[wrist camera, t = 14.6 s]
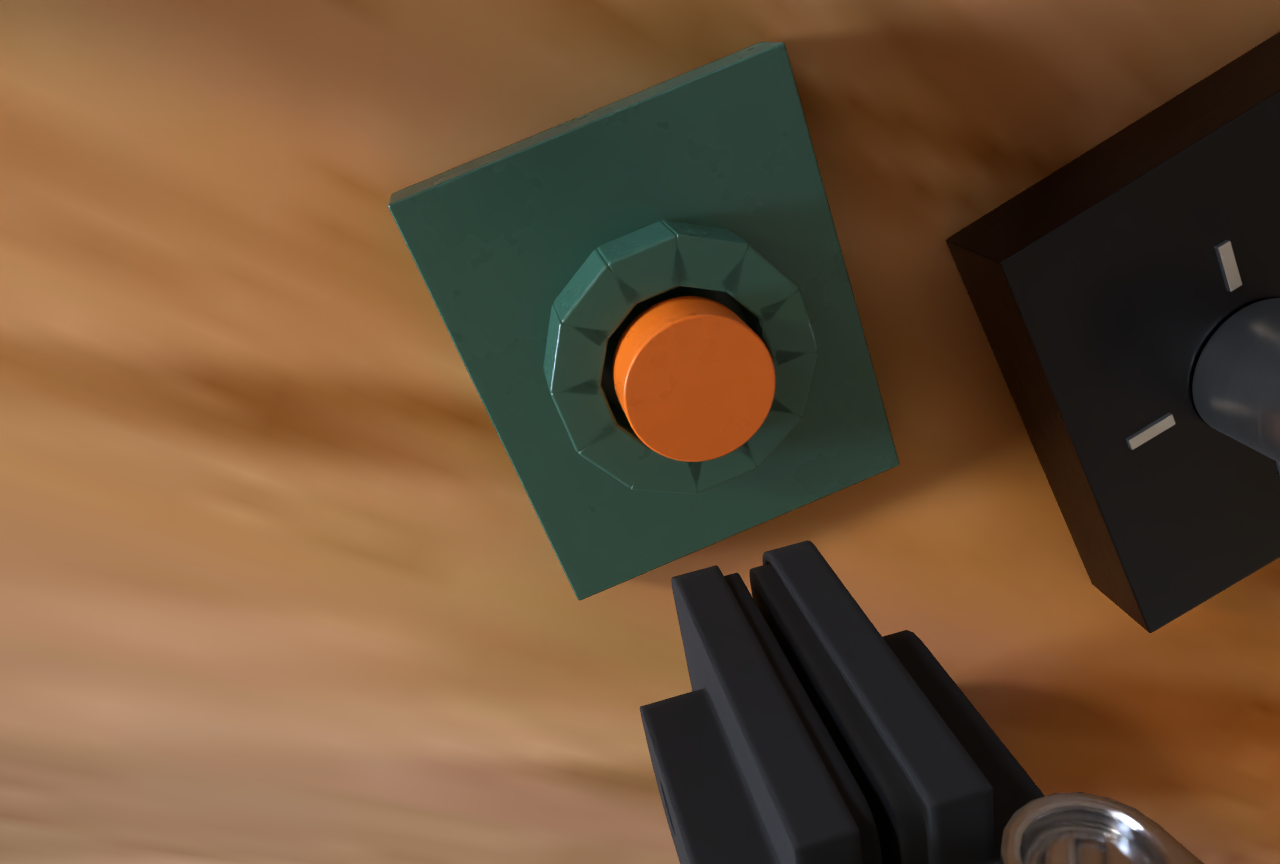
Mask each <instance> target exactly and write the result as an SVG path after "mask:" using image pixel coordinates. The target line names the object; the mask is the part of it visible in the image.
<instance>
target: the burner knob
mask: <svg viewBox="0 0 1280 864" xmlns="http://www.w3.org/2000/svg"><path fill="white" fill-rule="evenodd" d="M1192 393H1193V400H1194V404H1195V406H1196V409H1197V411H1198V413H1199V415H1200V416H1201V418H1202V419H1203V420H1204V421H1205V422H1206V423H1207V424H1208V425H1209V426H1210V427H1212V428H1214V429H1216V430H1218V431H1219V432H1221V433H1223V434H1225V435H1227V436H1229V437H1231V438H1233V439H1235V440H1237V441H1239V442H1241V443H1243V444H1244V445H1246V446H1248V447H1250V448H1252V449H1254V450H1256V451H1258V452H1260V453H1262V454H1264V455H1266V456H1268V457H1269V458H1271V459H1273V460H1275V461H1277V462H1279V463H1280V298H1271V299H1266V300H1262V301H1259V302H1256V303H1253V304H1251V305H1249V306H1247V307H1244V308H1243V309H1241V310H1240V311H1238V312H1236V313H1235V314H1234V315H1232V316H1231V317H1230V318H1228V319H1227V320H1226V321H1225V322H1224V323H1223V324H1222V325H1221V326H1220V327H1219V328H1218V329H1217V330H1216V331H1215V332H1214V334H1213V335H1212V336H1211V338H1210V339H1209V340H1208V342H1207V343H1206V345H1205V347H1204V349H1203V350H1202V352H1201V354H1200V357H1199V359H1198V361H1197V364H1196V367H1195V371H1194V376H1193V384H1192Z"/></svg>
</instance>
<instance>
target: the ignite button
mask: <svg viewBox="0 0 1280 864" xmlns="http://www.w3.org/2000/svg"><path fill="white" fill-rule="evenodd" d="M612 380H613V385H614V389H615V392H616V395H617V398H618V400H619V402H620V404H621V406H622V408H623V410H624V413H625V415H626V417H627V419H628V421H629V423H630V425H631V427H632V429H633V431H634V432H635V433H636V435H637V436H638V437H639V439H640V440H641V441H642V442H643V443H644V444H645V445H647V446H648V447H649V448H650V449H652V450H653V451H655V452H657V453H658V454H660V455H663V456H665V457H667V458H671V459H674V460H679V461H686V462H699V461H707V460H712V459H716V458H719V457H721V456H724V455H726V454H728V453H730V452H733V451H734V450H736V449H737V448H739V447H741V446H742V445H743V444H744V443H746V442H747V441H748V440H749V439H750V438H751V437H752V436H753V435H754V434H755V433H756V432H757V431H758V429H759V428H760V427H761V426H762V424H763V422H764V421H765V419H766V417H767V415H768V413H769V411H770V409H771V406H772V403H773V399H774V394H775V388H776V375H775V368H774V364H773V360H772V357H771V355H770V352H769V350H768V349H767V347H766V345H765V344H764V342H763V341H762V340H761V338H760V337H759V336H758V335H757V334H756V333H755V332H754V331H753V330H752V329H751V328H750V327H749V326H748V325H747V324H746V323H745V322H744V321H743V320H742V319H741V318H740V317H739V316H738V315H736V314H735V313H734V312H733V311H732V310H731V309H729V308H728V307H727V306H725V305H723V304H721V303H719V302H717V301H715V300H712V299H709V298H705V297H700V296H679V297H674V298H669V299H666V300H663V301H661V302H658V303H656V304H654V305H652V306H651V307H649V308H647V309H646V310H644V311H643V312H642V313H641V314H639V315H638V316H637V317H636V318H635V319H634V320H633V321H632V322H631V323H630V324H629V325H628V327H627V328H626V330H625V331H624V333H623V334H622V336H621V338H620V340H619V342H618V344H617V347H616V350H615V353H614V357H613V364H612Z"/></svg>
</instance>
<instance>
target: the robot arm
mask: <svg viewBox="0 0 1280 864" xmlns="http://www.w3.org/2000/svg"><path fill="white" fill-rule="evenodd" d="M750 583H751V589H752V596H753V598H752V596H751V594H750V592H749V591H748V589H747V587H746V585H745V583H744V582H743V580H742V578H741V577H740V575H739V574H738V573H734V574H730V575H727V576H723V574H722V572H721V571H720V569H719V567H718V566H712V567H709V568H705V569H701V570H698V571H694V572H690V573H687V574H683V575H679V576H676V577H672V589H673V595H674V600H675V605H676V610H677V615H678V620H679V625H680V630H681V635H682V640H683V645H684V650H685V655H686V660H687V666H688V671H689V676H690V681H691V686H692V691H693V692H690V693H686V694H683V695H679V696H676V697H672V698H669V699H665V700H662V701H658V702H655V703H651V704H648V705H644V706H641V707H640V712H641V717H642V722H643V726H644V731H645V735H646V739H647V744H648V748H649V752H650V756H651V761H652V765H653V769H654V773H655V777H656V781H657V784H658V788H659V792H660V796H661V799H662V803H663V807H664V810H665V814H666V817H667V821H668V824H669V828H670V831H671V835H672V838H673V841H674V844H675V848H676V851H677V854H678V858H679V861H680V864H1204V863H1202V862H1201V861H1200V860H1199V859H1198V858H1197V857H1196V856H1194V855H1193V854H1192V853H1191V852H1190V851H1189V850H1187V849H1186V848H1185V847H1184V846H1183V845H1182V844H1181V843H1179V842H1178V841H1177V840H1176V839H1175V838H1174V837H1172V836H1171V835H1170V834H1169V833H1168V832H1167V831H1166V830H1164V829H1163V828H1162V827H1161V826H1160V825H1159V824H1157V823H1156V822H1154V821H1153V820H1151V819H1150V818H1148V817H1147V816H1145V815H1144V814H1143V813H1141V812H1140V811H1138V810H1137V809H1135V808H1133V807H1130V806H1128V805H1126V804H1123V803H1121V802H1118V801H1116V800H1113V799H1111V798H1108V797H1103V796H1098V795H1093V794H1087V793H1082V792H1076V793H1054V794H1051V795H1047V796H1044V794H1043V793H1042V792H1041V790H1040V789H1039V788H1038V787H1037V785H1036V784H1035V783H1034V782H1033V780H1032V779H1031V778H1030V777H1029V775H1028V774H1027V773H1026V772H1025V770H1024V769H1023V768H1022V767H1021V765H1020V764H1019V763H1018V762H1017V760H1016V759H1015V758H1014V757H1013V755H1012V754H1011V753H1010V752H1009V750H1008V749H1007V748H1006V746H1005V745H1004V744H1003V743H1002V741H1001V740H1000V739H999V738H998V736H997V735H996V734H995V733H994V731H993V730H992V729H991V728H990V726H989V725H988V724H987V723H986V721H985V720H984V719H983V718H982V716H981V715H980V714H979V713H978V711H977V710H976V709H975V708H974V706H973V705H972V704H971V702H970V701H969V700H968V699H967V697H966V696H965V695H964V694H963V692H962V691H961V690H960V689H959V687H958V686H957V685H956V684H955V682H954V681H953V680H952V679H951V677H950V676H949V675H948V674H947V672H946V671H945V670H944V669H943V667H942V666H941V665H940V663H939V662H938V661H937V660H936V658H935V657H934V656H933V655H932V653H931V652H930V651H929V650H928V648H927V647H926V646H925V645H924V643H923V642H922V641H921V640H920V639H919V638H918V637H917V636H916V635H915V634H914V633H913V632H910V631H908V630H905V631H901V632H898V633H894V634H891V635H887V636H884V637H882V636H881V635H880V634H879V632H878V631H877V629H876V628H875V627H874V625H873V624H872V623H871V621H870V620H869V619H868V617H867V616H866V615H865V613H864V612H863V610H862V609H861V608H860V606H859V605H858V604H857V602H856V601H855V600H854V598H853V597H852V596H851V594H850V593H849V591H848V590H847V589H846V587H845V586H844V585H843V583H842V582H841V581H840V579H839V578H838V577H837V575H836V574H835V572H834V571H833V570H832V568H831V567H830V566H829V564H828V563H827V562H826V560H825V559H824V558H823V556H822V555H821V553H820V552H819V551H818V549H817V548H816V547H815V545H814V544H813V543H812V542H811V541H804V542H800V543H796V544H793V545H789V546H785V547H782V548H778V549H774V550H771V551H767V552H764V554H763V566H759V567H756V568H752V569H751V570H750Z"/></svg>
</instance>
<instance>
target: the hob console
mask: <svg viewBox="0 0 1280 864" xmlns="http://www.w3.org/2000/svg"><path fill="white" fill-rule="evenodd" d="M946 242H947V245H948V247H949V250H950V252H951V254H952V257H953V259H954V261H955V264H956V266H957V268H958V271H959V273H960V275H961V278H962V280H963V282H964V285H965V287H966V289H967V292H968V294H969V296H970V299H971V301H972V303H973V306H974V308H975V310H976V313H977V315H978V317H979V320H980V322H981V324H982V327H983V329H984V331H985V334H986V336H987V339H988V341H989V343H990V346H991V348H992V350H993V353H994V355H995V357H996V360H997V362H998V364H999V367H1000V369H1001V371H1002V374H1003V376H1004V378H1005V381H1006V383H1007V385H1008V388H1009V390H1010V392H1011V395H1012V397H1013V399H1014V402H1015V404H1016V406H1017V409H1018V411H1019V413H1020V416H1021V418H1022V420H1023V423H1024V425H1025V428H1026V430H1027V432H1028V435H1029V437H1030V439H1031V442H1032V444H1033V446H1034V449H1035V451H1036V453H1037V456H1038V458H1039V460H1040V463H1041V465H1042V467H1043V470H1044V472H1045V474H1046V477H1047V479H1048V481H1049V484H1050V486H1051V488H1052V491H1053V493H1054V495H1055V498H1056V500H1057V502H1058V505H1059V507H1060V510H1061V512H1062V514H1063V517H1064V519H1065V521H1066V524H1067V526H1068V528H1069V531H1070V533H1071V535H1072V538H1073V540H1074V542H1075V545H1076V547H1077V549H1078V552H1079V554H1080V556H1081V559H1082V561H1083V563H1084V566H1085V568H1086V570H1087V573H1088V575H1089V577H1090V580H1091V582H1092V584H1093V585H1094V586H1095V587H1096V588H1098V589H1099V590H1100V591H1101V592H1102V593H1103V594H1105V595H1106V596H1107V597H1108V598H1109V599H1110V600H1112V601H1113V602H1114V603H1115V604H1116V605H1117V606H1119V607H1120V608H1121V609H1122V610H1123V611H1124V612H1126V613H1127V614H1128V615H1129V616H1130V617H1131V618H1133V619H1134V620H1135V621H1136V622H1137V623H1138V624H1140V625H1141V626H1142V627H1143V628H1144V629H1145V630H1147V631H1148V632H1149V633H1152V632H1154V631H1156V630H1157V629H1159V628H1161V627H1162V626H1164V625H1166V624H1167V623H1169V622H1171V621H1172V620H1174V619H1176V618H1178V617H1179V616H1181V615H1183V614H1184V613H1186V612H1188V611H1189V610H1191V609H1193V608H1194V607H1196V606H1198V605H1200V604H1201V603H1203V602H1205V601H1206V600H1208V599H1210V598H1211V597H1213V596H1215V595H1217V594H1218V593H1220V592H1222V591H1223V590H1225V589H1227V588H1228V587H1230V586H1232V585H1233V584H1235V583H1237V582H1239V581H1240V580H1242V579H1244V578H1245V577H1247V576H1249V575H1250V574H1252V573H1254V572H1255V571H1257V570H1259V569H1261V568H1262V567H1264V566H1266V565H1267V564H1269V563H1271V562H1272V561H1274V560H1276V559H1278V558H1279V557H1280V463H1279V462H1277V461H1275V460H1273V459H1271V458H1269V457H1268V456H1266V455H1264V454H1262V453H1260V452H1258V451H1256V450H1254V449H1252V448H1250V447H1248V446H1246V445H1244V444H1243V443H1241V442H1239V441H1237V440H1235V439H1233V438H1231V437H1229V436H1227V435H1225V434H1223V433H1221V432H1219V431H1218V430H1216V429H1214V428H1212V427H1210V426H1209V425H1208V424H1207V423H1206V422H1205V421H1204V420H1203V419H1202V418H1201V416H1200V415H1199V413H1198V411H1197V409H1196V406H1195V404H1194V400H1193V393H1192V384H1193V376H1194V371H1195V367H1196V364H1197V361H1198V359H1199V357H1200V354H1201V352H1202V350H1203V349H1204V347H1205V345H1206V343H1207V342H1208V340H1209V339H1210V338H1211V336H1212V335H1213V334H1214V332H1215V331H1216V330H1217V329H1218V328H1219V327H1220V326H1221V325H1222V324H1223V323H1224V322H1225V321H1226V320H1227V319H1228V318H1230V317H1231V316H1232V315H1234V314H1235V313H1236V312H1238V311H1240V310H1241V309H1243V308H1244V307H1247V306H1249V305H1251V304H1253V303H1256V302H1259V301H1262V300H1266V299H1271V298H1280V32H1279V33H1278V34H1276V35H1274V36H1273V37H1271V38H1270V39H1268V40H1266V41H1265V42H1263V43H1262V44H1260V45H1258V46H1257V47H1255V48H1254V49H1252V50H1250V51H1249V52H1247V53H1245V54H1244V55H1242V56H1241V57H1239V58H1237V59H1236V60H1234V61H1233V62H1231V63H1229V64H1228V65H1226V66H1225V67H1223V68H1221V69H1220V70H1218V71H1217V72H1215V73H1213V74H1212V75H1210V76H1208V77H1207V78H1205V79H1204V80H1202V81H1200V82H1199V83H1197V84H1196V85H1194V86H1192V87H1191V88H1189V89H1188V90H1186V91H1184V92H1183V93H1181V94H1179V95H1178V96H1176V97H1175V98H1173V99H1171V100H1170V101H1168V102H1167V103H1165V104H1163V105H1162V106H1160V107H1159V108H1157V109H1155V110H1154V111H1152V112H1151V113H1149V114H1147V115H1146V116H1144V117H1142V118H1141V119H1139V120H1138V121H1136V122H1134V123H1133V124H1131V125H1130V126H1128V127H1126V128H1125V129H1123V130H1122V131H1120V132H1118V133H1117V134H1115V135H1114V136H1112V137H1110V138H1109V139H1107V140H1105V141H1104V142H1102V143H1101V144H1099V145H1097V146H1096V147H1094V148H1093V149H1091V150H1089V151H1088V152H1086V153H1085V154H1083V155H1081V156H1080V157H1078V158H1076V159H1075V160H1073V161H1072V162H1070V163H1068V164H1067V165H1065V166H1064V167H1062V168H1060V169H1059V170H1057V171H1056V172H1054V173H1052V174H1051V175H1049V176H1048V177H1046V178H1044V179H1043V180H1041V181H1039V182H1038V183H1036V184H1035V185H1033V186H1031V187H1030V188H1028V189H1027V190H1025V191H1023V192H1022V193H1020V194H1019V195H1017V196H1015V197H1014V198H1012V199H1010V200H1009V201H1007V202H1006V203H1004V204H1002V205H1001V206H999V207H998V208H996V209H994V210H993V211H991V212H990V213H988V214H986V215H985V216H983V217H982V218H980V219H978V220H977V221H975V222H973V223H972V224H970V225H969V226H967V227H965V228H964V229H962V230H961V231H959V232H957V233H956V234H954V235H953V236H951V237H949V238H948V239H946Z"/></svg>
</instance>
